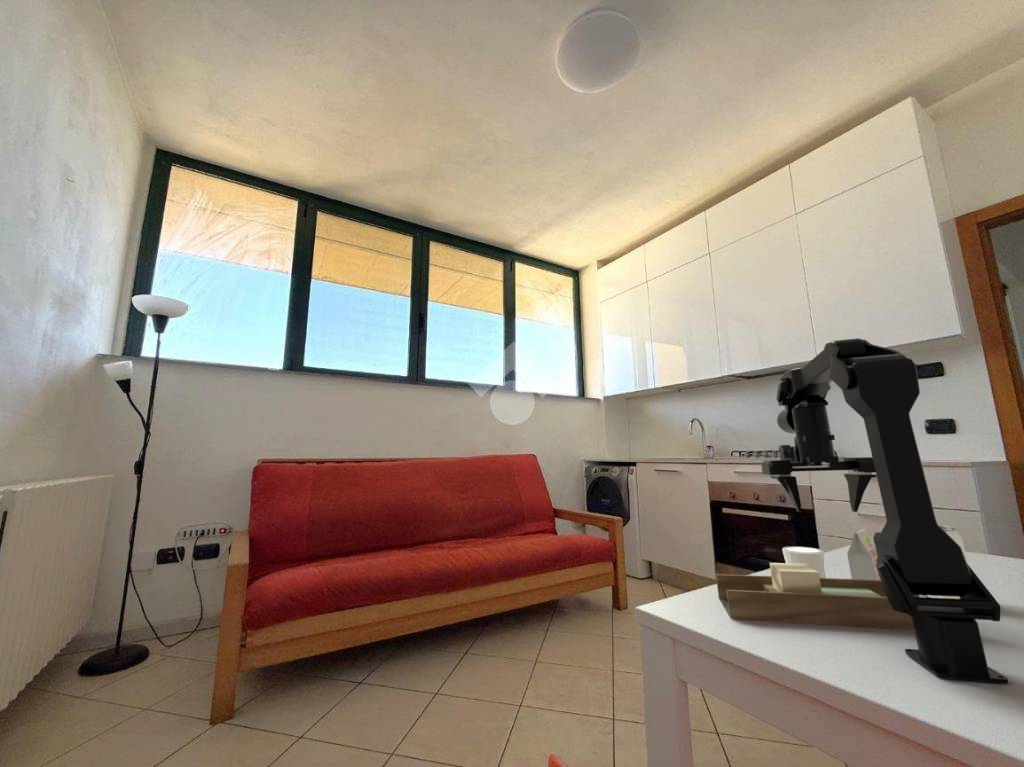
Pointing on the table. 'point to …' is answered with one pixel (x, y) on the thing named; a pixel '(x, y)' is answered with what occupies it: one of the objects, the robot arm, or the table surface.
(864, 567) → the white gable top carton
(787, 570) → the maple block
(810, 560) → the white cup
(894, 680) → the table surface
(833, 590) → the tray
